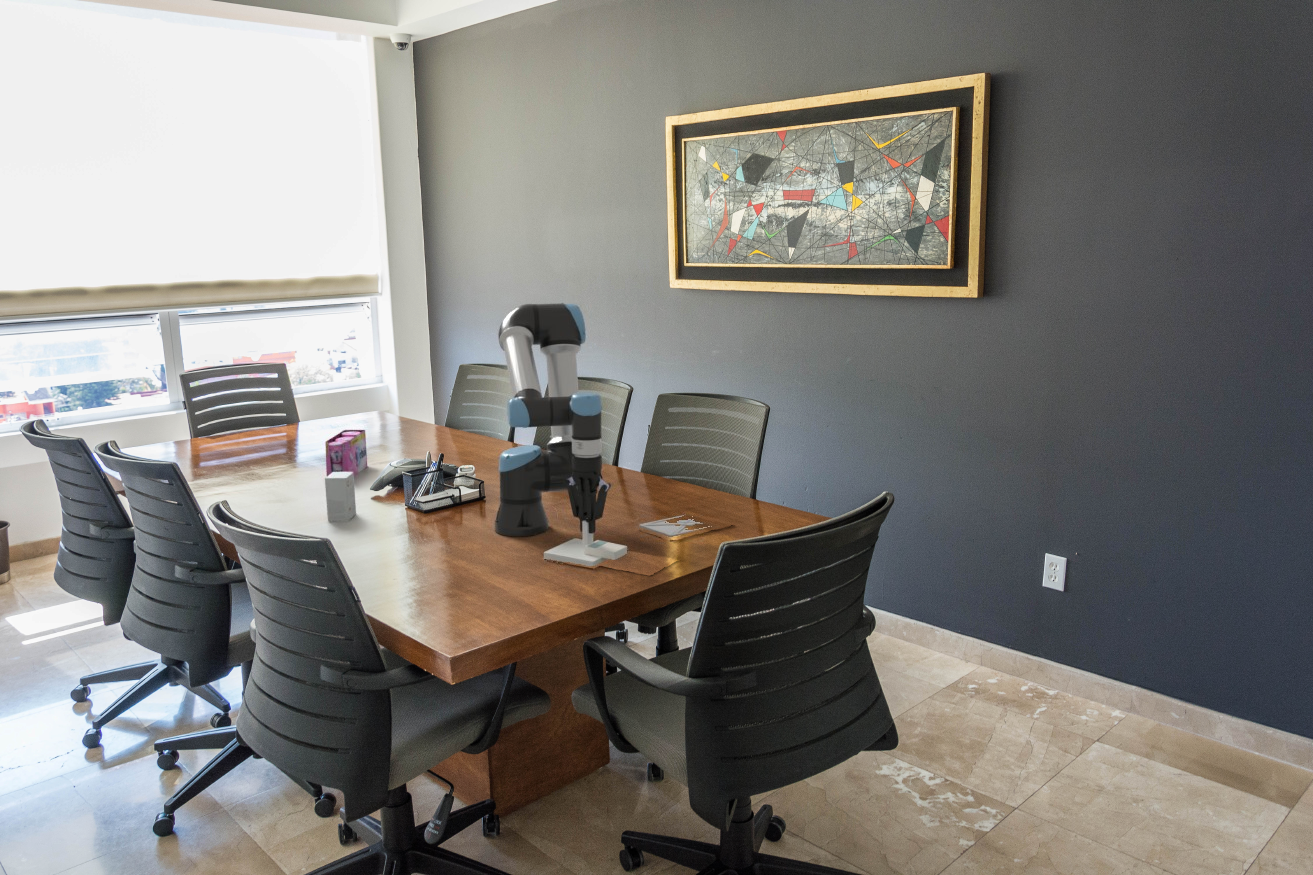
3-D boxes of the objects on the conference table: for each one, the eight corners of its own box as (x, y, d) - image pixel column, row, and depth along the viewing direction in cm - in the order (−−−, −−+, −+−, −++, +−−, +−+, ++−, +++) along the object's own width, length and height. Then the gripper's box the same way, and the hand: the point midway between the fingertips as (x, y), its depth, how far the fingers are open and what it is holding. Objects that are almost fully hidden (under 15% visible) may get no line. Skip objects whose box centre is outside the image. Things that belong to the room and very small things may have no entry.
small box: (335, 513, 288) (332, 471, 286) (356, 513, 289) (354, 471, 286) (327, 521, 280) (324, 477, 278) (349, 521, 281) (346, 477, 278)
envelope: (733, 528, 278) (700, 517, 288) (733, 520, 277) (701, 510, 288) (670, 542, 262) (638, 531, 273) (670, 534, 262) (638, 523, 272)
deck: (574, 545, 259) (574, 538, 258) (622, 554, 252) (622, 546, 251) (543, 559, 247) (543, 552, 246) (593, 569, 240) (593, 561, 239)
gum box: (348, 481, 327) (346, 442, 325) (324, 482, 327) (322, 442, 325) (368, 466, 351) (365, 429, 348) (346, 466, 351) (343, 429, 348)
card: (597, 547, 250) (597, 539, 250) (627, 553, 246) (627, 545, 245) (584, 553, 245) (584, 545, 245) (614, 560, 241) (614, 552, 240)
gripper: (557, 454, 243) (558, 544, 248) (600, 460, 237) (601, 552, 241) (574, 449, 249) (575, 537, 254) (616, 454, 243) (617, 544, 248)
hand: (588, 544), depth 248 cm, fingers closed
